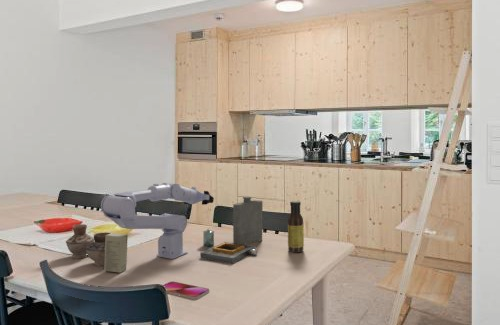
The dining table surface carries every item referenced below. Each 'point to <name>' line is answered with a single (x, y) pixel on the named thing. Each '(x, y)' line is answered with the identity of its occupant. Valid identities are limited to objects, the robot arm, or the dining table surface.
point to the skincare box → (115, 252)
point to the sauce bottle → (295, 228)
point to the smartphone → (185, 290)
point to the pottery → (87, 244)
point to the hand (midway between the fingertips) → (205, 200)
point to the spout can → (208, 238)
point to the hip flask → (247, 221)
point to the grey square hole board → (228, 252)
